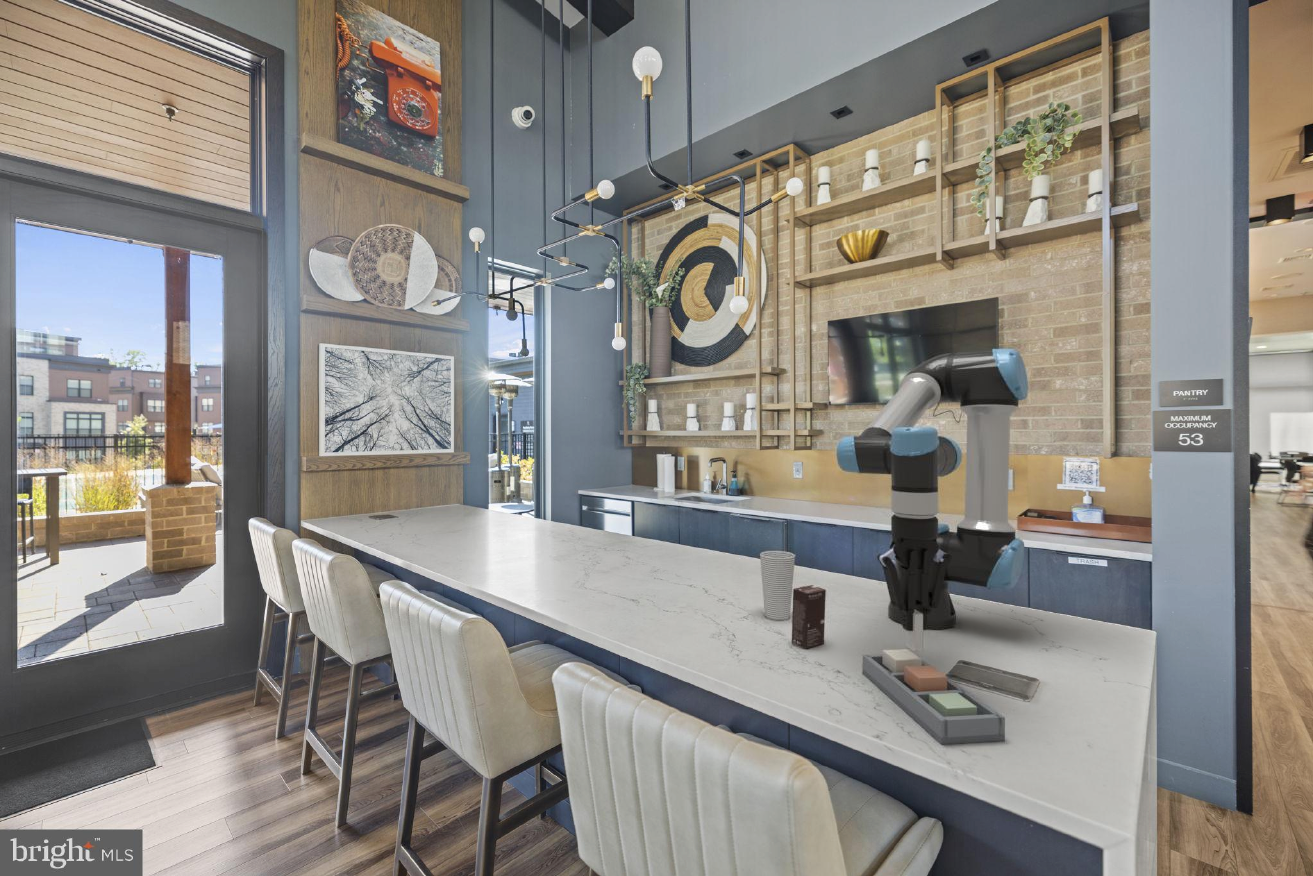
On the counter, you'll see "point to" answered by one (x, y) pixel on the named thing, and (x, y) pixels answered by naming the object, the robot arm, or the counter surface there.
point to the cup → (777, 583)
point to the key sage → (951, 705)
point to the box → (808, 616)
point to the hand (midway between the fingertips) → (914, 647)
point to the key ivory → (900, 659)
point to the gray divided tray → (916, 705)
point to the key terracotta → (925, 678)
